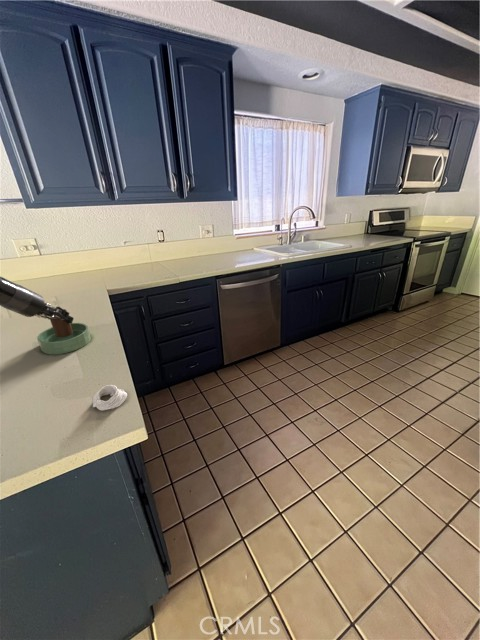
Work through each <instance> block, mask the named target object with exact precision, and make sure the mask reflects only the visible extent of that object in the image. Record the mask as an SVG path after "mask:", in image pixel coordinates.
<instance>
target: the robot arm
mask: <svg viewBox="0 0 480 640" xmlns="http://www.w3.org/2000/svg"><path fill="white" fill-rule="evenodd" d="M0 307H2V308H3V309H5V310H8V311H11V312H13V313H15V314H19V315H20V316H24V317H27V318H32V317H37V318H39V319H40V318H43V319H45V320H47V319H48V320H50V318H53V319H56V318H57V319H60V320H63V321H65V322H68V323H74V322H73V321H74V317H73V316H71V315H70V312H68V310H66V311H65V310H64V309H65V308H63V307H60V306H56V307H55V306H52V305H51V304H50V303H46V302H45V299H44V297H43V296H42V295H40V294H39V293H36V292H35V291H33V290H31V289H28V287H27V288H26V287H25V286H23V285H20V284H18V283H15V282H13V281H11V280H9V279H7V278H5V277H3V276H1V275H0ZM53 313H54V316H52V315H53ZM49 317H50V318H49Z"/></svg>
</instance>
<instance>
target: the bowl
mask: <svg viewBox="0 0 480 640" xmlns="http://www.w3.org/2000/svg"><path fill="white" fill-rule="evenodd" d="M71 327H72V330H73V333H72V334H71V335H69V336H66V337H60V338H59V337H56V335H55V333H54V330H53V327H51V326H50V327H49V328H47V329H45V330H43V331H41V332H40V333H39V334H38V335H37V337H36V339H37V342H38V345H39V348H40V350H41V352H42V353H44V354H47V355H63V354H67V353H71V352H75V351H76V350H79V349H81V348H84V347H85V346H86V345H88V344H89V343H90V342H91V340H92V337H91V333H90V330H89V326H88V325H87V324H86V323H82V322H72V323H71Z"/></svg>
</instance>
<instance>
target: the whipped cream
mask: <svg viewBox="0 0 480 640" xmlns="http://www.w3.org/2000/svg"><path fill="white" fill-rule="evenodd" d="M108 395H109V396H110V398H109V399H108V400H103V399H101V397H105V396H108ZM127 397H128V393H127V392H126V391H125V390H124V389H121V388H118V387H117V386H116V385H114V384H107V385H104V386H102V387H101V388H100V389H99V390H98V391H97V392H96V393H95V394H94V395H93V398H92V408H96V409H97V410H99V411H106V410H113V409H115V408H118V407H120V406H122V404H124V402H125V401H126V399H127Z"/></svg>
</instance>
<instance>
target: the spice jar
mask: <svg viewBox="0 0 480 640" xmlns="http://www.w3.org/2000/svg"><path fill="white" fill-rule="evenodd" d="M63 309H64V310H65V311H67V309H65V308H63ZM52 316H54V313H53V315H52ZM49 318H50V317H49ZM49 320H50V323H51V326H52V327H53V330H54V333H55V335H56V337H59V338H60V337H66V336H69V335H71V334H72V333H73V330H72V327H71V323H68V322H65V321H63V320H60V319H57V318H56V319H53V318H50V319H49Z"/></svg>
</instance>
